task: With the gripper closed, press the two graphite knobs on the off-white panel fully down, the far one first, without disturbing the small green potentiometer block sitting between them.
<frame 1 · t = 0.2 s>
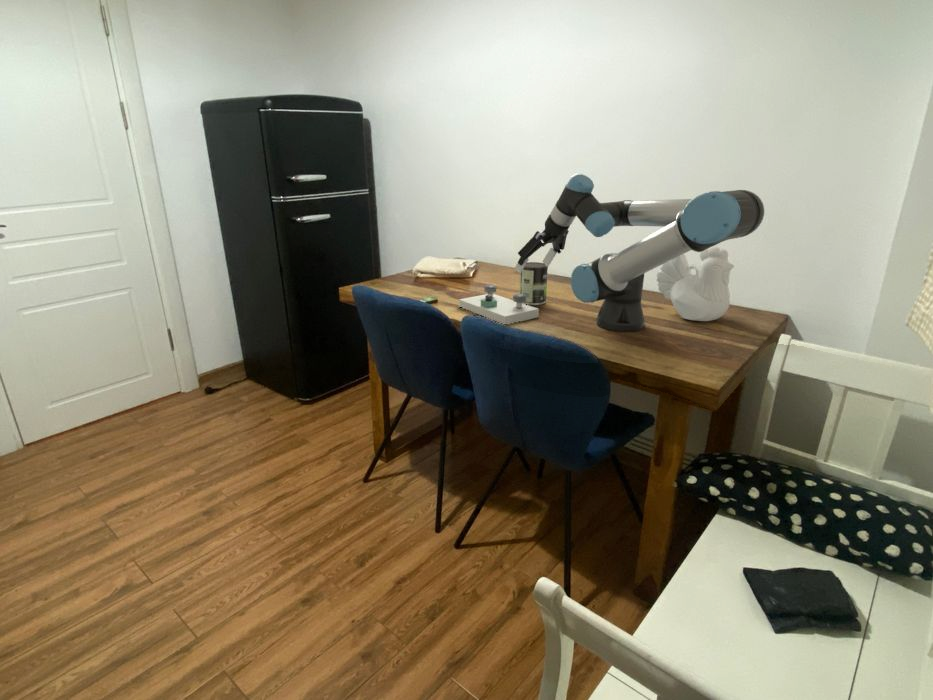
hand: (531, 267, 188), 16 cm above the table, tool tilted 35°, fingers open, 13 cm apart
coffee can: (532, 302, 206), on the table
knob far: (490, 292, 199), point 5 cm above the table, slide at 0.0 cm
panel: (497, 312, 193), on the table
potentiometer: (488, 305, 190), point 3 cm above the table, touching panel
decorative rooster: (689, 316, 188), on the table
knob near: (519, 302, 187), point 5 cm above the table, slide at 0.0 cm
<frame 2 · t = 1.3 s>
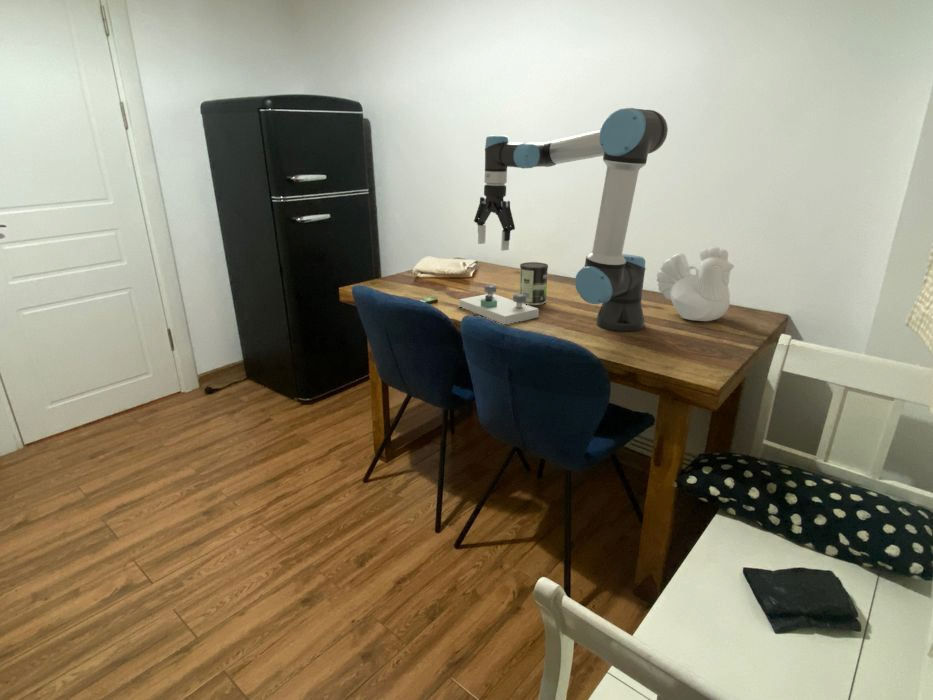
hand: (492, 246, 193), 22 cm above the table, tool pointing down, fingers open, 13 cm apart
nothing on the table moved.
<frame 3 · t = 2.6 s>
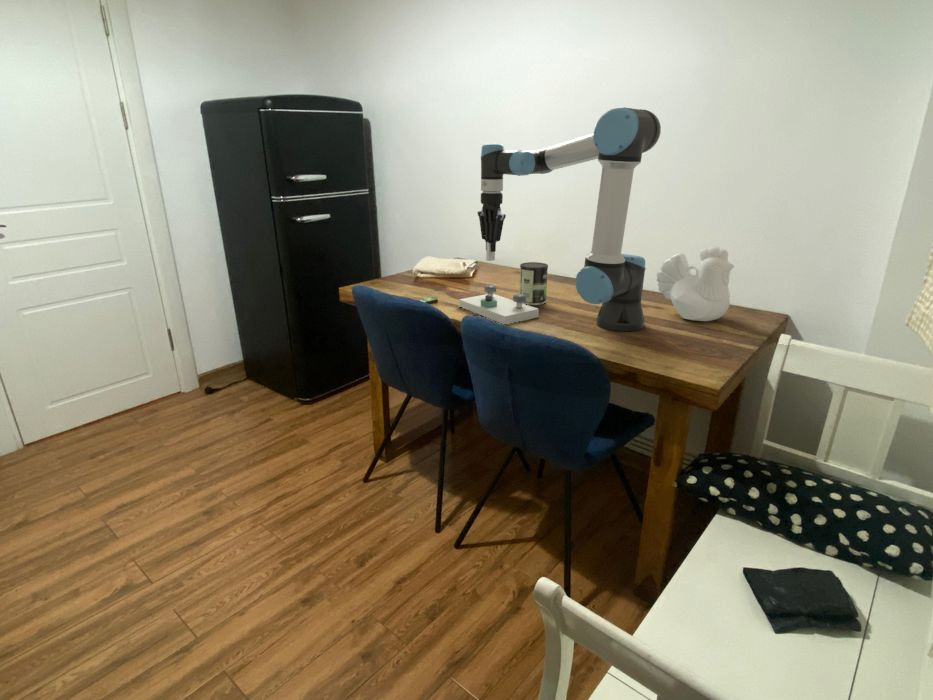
hand: (490, 260, 195), 17 cm above the table, tool pointing down, fingers closed
nothing on the table moved.
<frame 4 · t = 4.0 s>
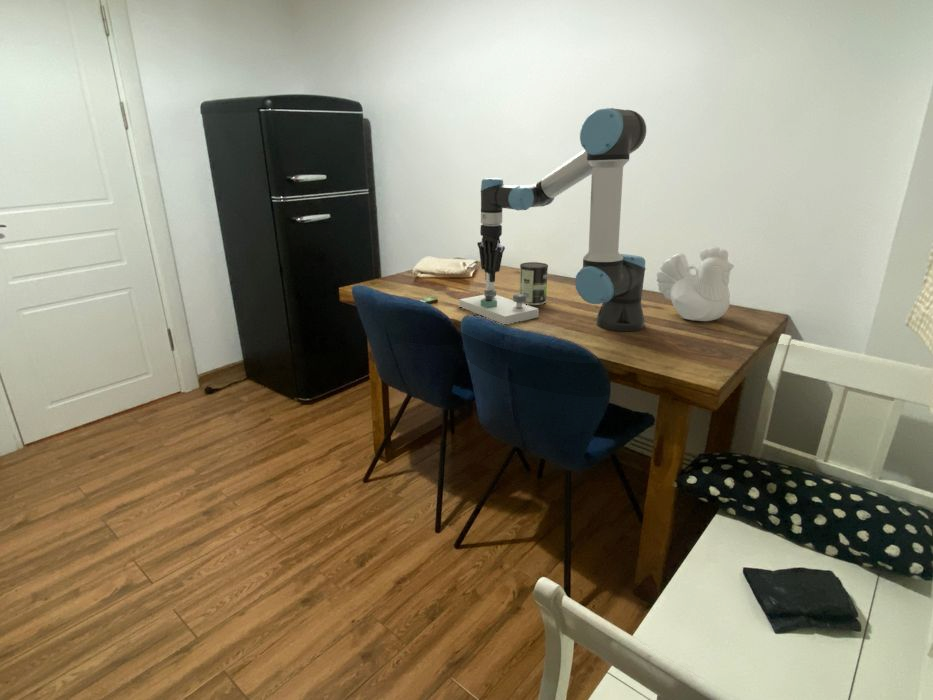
hand: (489, 289, 199), 6 cm above the table, tool pointing down, fingers closed
knob far: (490, 296, 199), point 3 cm above the table, slide at 1.6 cm, touching gripper
everything else where it was.
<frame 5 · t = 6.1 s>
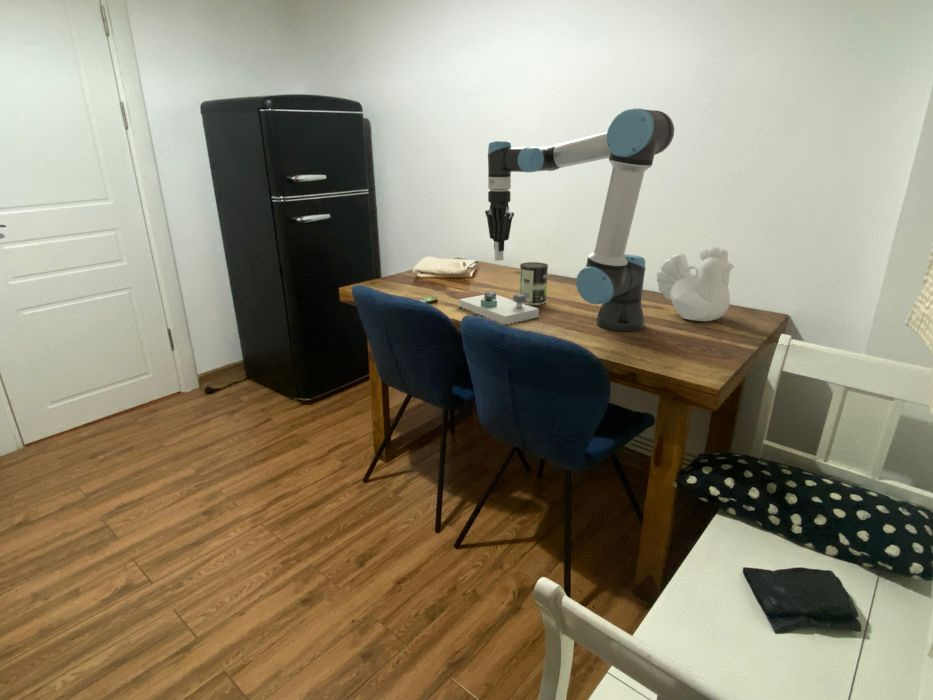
hand: (499, 259, 191), 18 cm above the table, tool pointing down, fingers closed
knob far: (490, 299, 200), point 2 cm above the table, slide at 2.5 cm, touching panel
everything else where it was.
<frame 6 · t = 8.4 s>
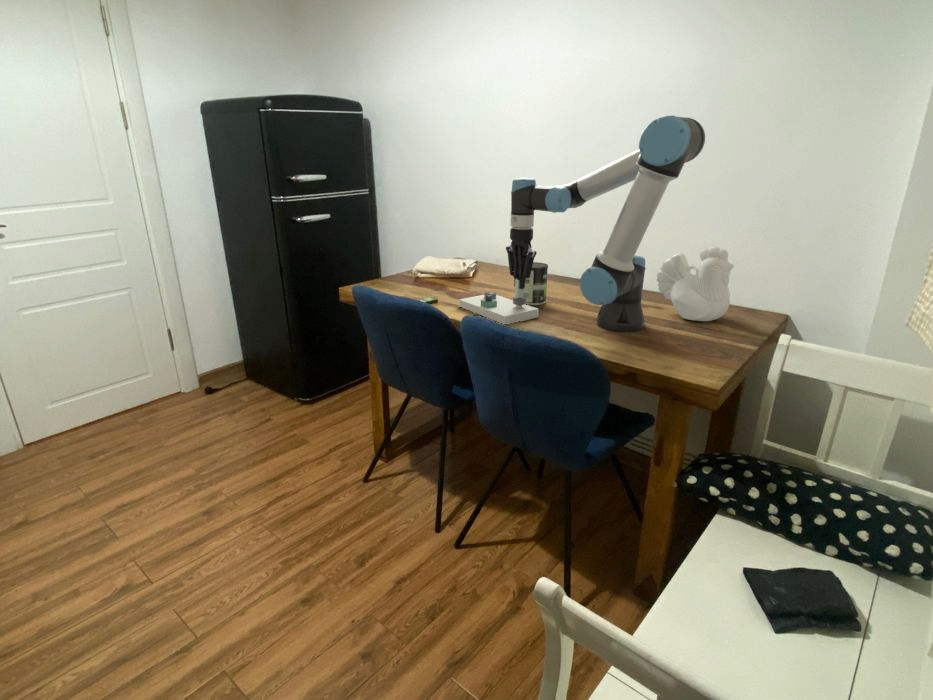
hand: (518, 297, 186), 7 cm above the table, tool pointing down, fingers closed
knob near: (519, 304, 187), point 4 cm above the table, slide at 0.9 cm, touching gripper
everything else where it was.
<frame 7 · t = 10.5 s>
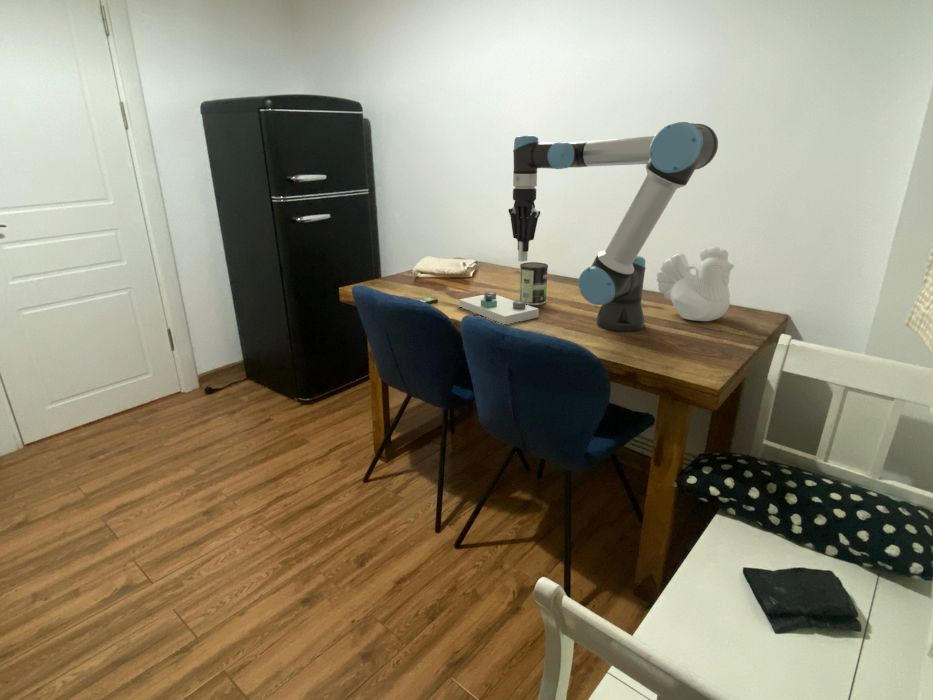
hand: (522, 260, 182), 19 cm above the table, tool pointing down, fingers closed
knob near: (519, 309, 188), point 2 cm above the table, slide at 2.5 cm, touching panel
everything else where it was.
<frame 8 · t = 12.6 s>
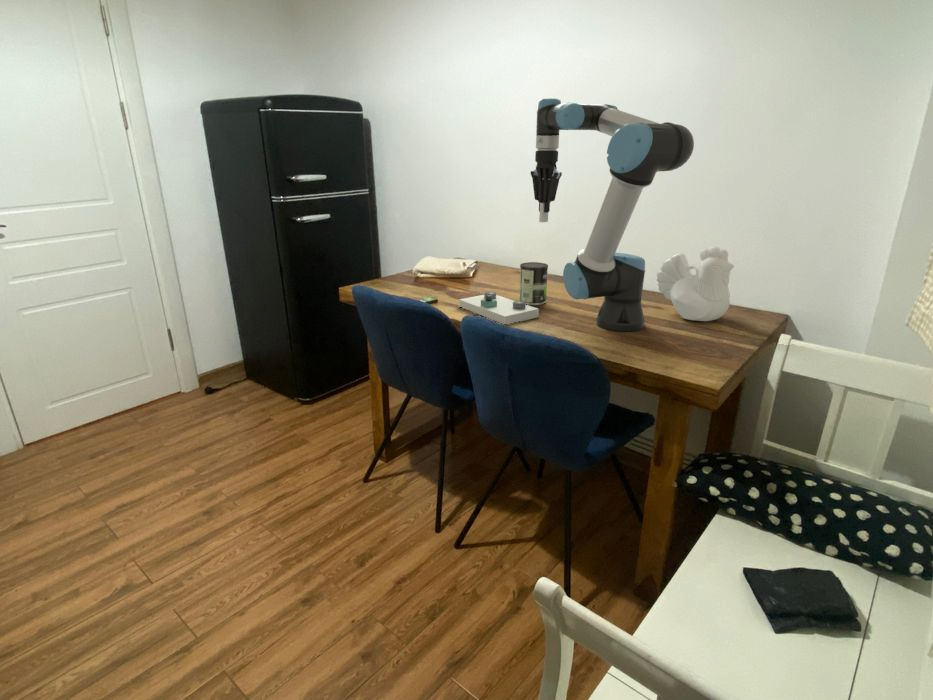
hand: (543, 221, 190), 30 cm above the table, tool pointing down, fingers closed
nothing on the table moved.
at the end: knob far slide at 2.5 cm; knob near slide at 2.5 cm; potentiometer moved 0.0 cm from its start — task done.
